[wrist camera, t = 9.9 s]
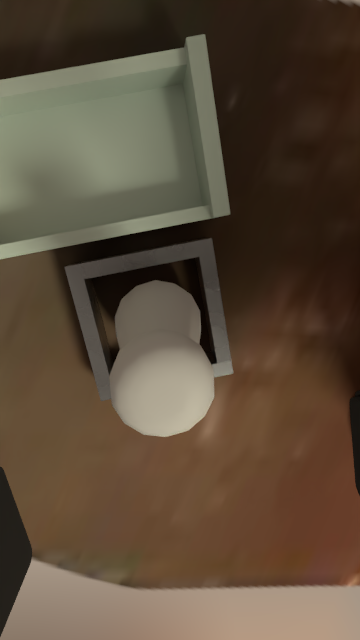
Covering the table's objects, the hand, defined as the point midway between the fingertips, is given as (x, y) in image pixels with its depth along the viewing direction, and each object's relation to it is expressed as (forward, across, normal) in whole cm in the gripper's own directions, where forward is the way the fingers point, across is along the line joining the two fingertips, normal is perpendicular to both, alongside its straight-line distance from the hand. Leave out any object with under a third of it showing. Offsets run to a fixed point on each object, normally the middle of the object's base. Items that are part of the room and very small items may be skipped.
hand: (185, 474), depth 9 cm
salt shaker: (+17, +1, -1) cm, 17 cm away
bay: (+17, +7, -11) cm, 21 cm away
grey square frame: (+17, +1, -1) cm, 17 cm away
